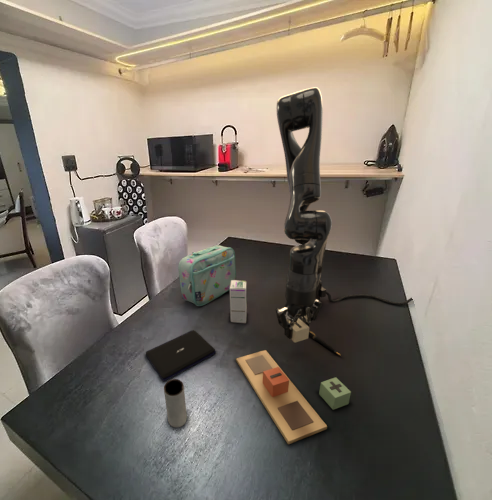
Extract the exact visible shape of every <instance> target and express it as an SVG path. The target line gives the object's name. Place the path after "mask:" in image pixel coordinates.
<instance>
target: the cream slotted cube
mask: <svg viewBox="0 0 492 500" xmlns="http://www.w3.org/2000/svg"><path fill="white" fill-rule="evenodd" d="M301 320H302V319H300V317H299V318H298V320H297V322H296V323H295V324H294V326H293V334H292V339H290V340H291V341H292V342H293V343H299V342H302V341H304V340H308V339H309V337H310V336H309V332H310V326H309V327H308V326H307V325H306V324H305V323H304V322H303V321H301ZM289 323H290V321H289Z"/></svg>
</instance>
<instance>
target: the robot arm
mask: <svg viewBox="0 0 492 500" xmlns="http://www.w3.org/2000/svg"><path fill="white" fill-rule="evenodd" d="M275 108H276V110H275V111H276V119H277V124H278V125H277V126H278V130H279V135H280V140H281V143H282V149H283V154H284V161H285V170H286V178H287V179H286V180H287V186H288V193H289V197H290V198H289V205H288V208H287V211H286V212H287V213H286V216H285V220H284V224H283V232H284V234H285V235H286V237H287V238H288V239H290V240H294V241H295V242H296V243H297V244H298V245H295V246H293V247H291V248H290V250H289V256H288V269H287V273H286V282H285V283H286V285H285V300H286V301H285V304H284V307H282V308H279V307H278V308H276V309H275V314H276V318H277V322H278V324H279V325H280V327H281V328H282V329H284V333H283V334H284V336H285V337H286V338H287V339H288V340H291V339H292V334H293V326H294V324H295V323H296V322H297V320H298V318H299V319H300V317H301V319H300V320H301V321H303V322H304V323H305V324H306V325H307V326H308V327H309V328H310V324H311V323H312V321H313V322H315V321H316V320H317V319H318V316H319V314H320V311H321V308H322V306H323V302H321V298H326V295H327V297H328V301H329V302H331V303H336V302H341V301H343V300H345V299H349V298H371V299H375V300H378V301H381V302H384V303H387V304H390V305H396V306H404V305H408V304H409V303H411V302H412V301H414V300H413V299H412V297H410V298H408V299H407V300H405V301H401V302H397V301H391V300H388V299H385V298H382V297H379V296H375V295H371V294H364V293H363V294H362V293H361V294H360V293H358V294H348V295H344V296H341V297H339V298H337V299H332V296H331V293H329V292H328V291H327V289H326V288H324V287H323V281H322V280H321V279H322V272H323V265H324V258H325V255H326V248H327V244H328V239H329V236H330V233H331V231H332V227H333V220H332V217H331V215H330V213H329V212H327V211H326V210H322V209H321V210H320V209H319V210H314V209H313V210H308V209H309V208H310V206H311V205H312V204H313V203H316V202H318V201H319V200H320V199H321V198H322V197H321V196H322V187H321V186H322V185H321V184H322V183H321V165H320V164H321V148H322V138H323V137H322V136H323V113H324V112H323V111H324V109H323V97H322V93H321V90H320V89H319V87H316V86H315V87H314V86H313V87H309V88H305V89H301V90H298V91H296V92H293V93H289V94H286V95H283V96H280V97H279V98H278V99H277V101H276V107H275ZM305 129H308V132H307V136H306V139H305V140H304V143H303V144H302V147H301V145H300V144H299V142H298V141H297V139H296V137H295V135H294V132H296V131H301V130H305ZM289 321H290V323H289Z"/></svg>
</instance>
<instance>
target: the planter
mask: <svg viewBox="0 0 492 500" xmlns="http://www.w3.org/2000/svg"><path fill="white" fill-rule="evenodd" d="M163 393H164V400H165V409H166V414H167V415H166V416H167V421H168V424H169V425H170V426H171V427H172V428H176V429H177V428H181V427H183V426H184V425H185V424H186V422H187V420H188V415H187V404H186V394H185V385H184V382H183V381H182V380H180V379H179V378H172V379H168V380H167V381H166V383H165V384H164V386H163Z"/></svg>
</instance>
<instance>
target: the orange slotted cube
mask: <svg viewBox="0 0 492 500" xmlns="http://www.w3.org/2000/svg"><path fill="white" fill-rule="evenodd" d="M279 367H280V366H279ZM279 367H276V368H273V369H270V370H266V371H263V384H264V386H265V387H266V389H267V390H268V392H269V393H270V395H271V396H272V397H275V396H277V395H280V394H283V393H286V392H288V388H289V379H290V378H289V377H288V376H287V375H286V373H285V372H284V371H283V370H282V368H281V367H280V368H281V369H280V368H279ZM281 370H282V371H283V372H284V373H285V374H284V373H283V372H282V371H281ZM285 375H286V376H287V377H288V378H289V379H288V378H287V377H286V376H285Z"/></svg>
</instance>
